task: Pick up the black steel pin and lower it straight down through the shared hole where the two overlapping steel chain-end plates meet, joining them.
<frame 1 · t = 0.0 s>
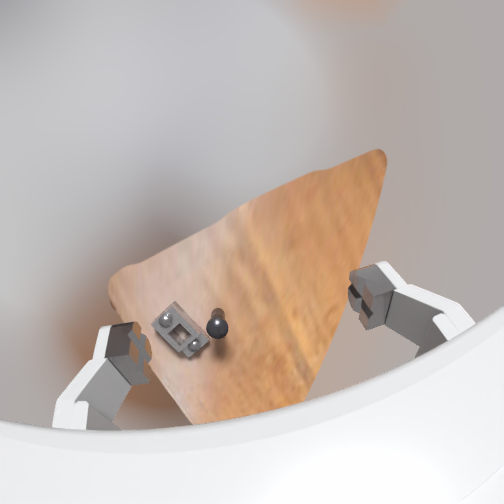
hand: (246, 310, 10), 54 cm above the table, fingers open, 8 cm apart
pin: (218, 314, 65), on the table
chain ends: (182, 328, 64), on the table
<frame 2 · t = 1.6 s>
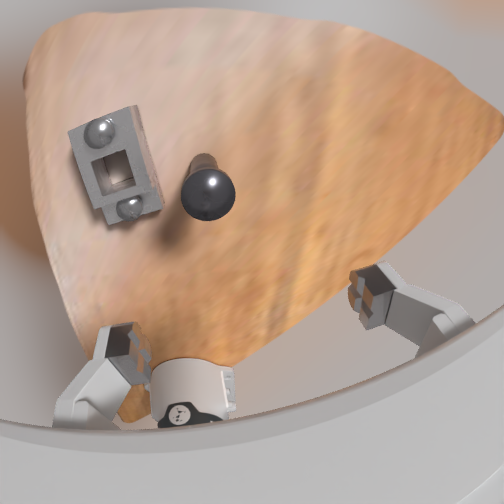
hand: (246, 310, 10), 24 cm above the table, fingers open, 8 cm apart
pin: (203, 166, 31), on the table
chain ends: (122, 164, 28), on the table
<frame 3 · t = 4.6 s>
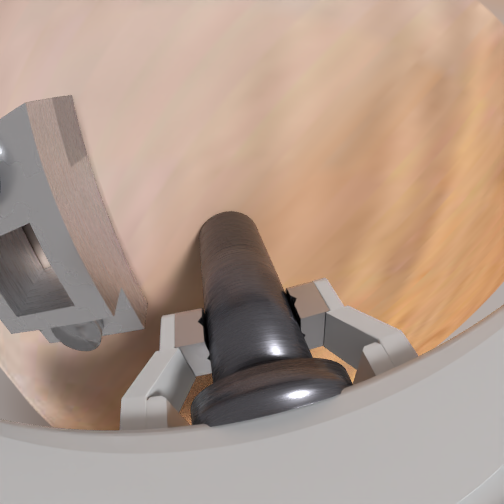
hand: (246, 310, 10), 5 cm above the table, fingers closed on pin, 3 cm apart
pin: (229, 238, 14), on the table, touching gripper
chain ends: (52, 230, 12), on the table
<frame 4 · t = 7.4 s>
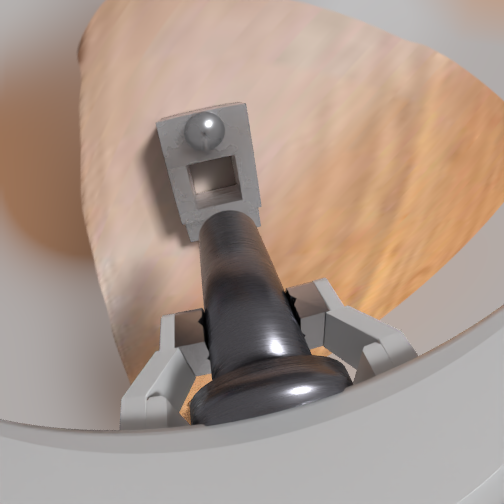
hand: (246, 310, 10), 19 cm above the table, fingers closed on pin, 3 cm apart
pin: (228, 237, 14), point 14 cm above the table, touching gripper
chain ends: (211, 170, 26), on the table
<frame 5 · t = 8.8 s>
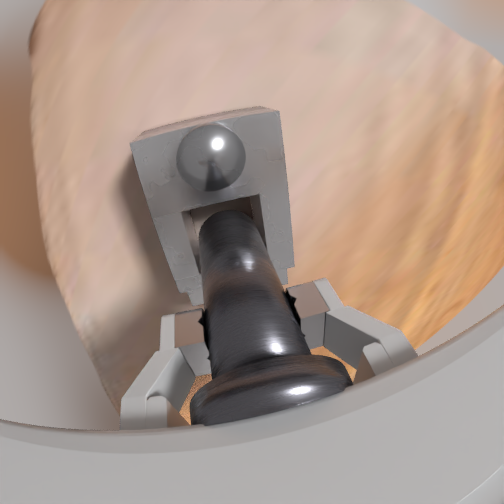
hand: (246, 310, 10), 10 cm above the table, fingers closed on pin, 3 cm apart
pin: (228, 237, 14), point 5 cm above the table, touching gripper
chain ends: (220, 206, 18), on the table
when the fingers open (7 cm above the table, at t = 10.1 s): pin drops 1 cm, resting in chain ends.
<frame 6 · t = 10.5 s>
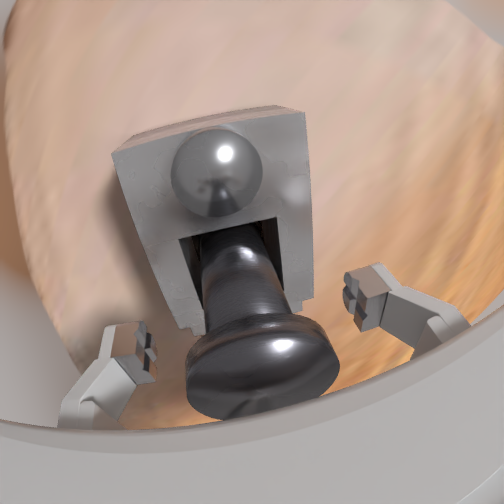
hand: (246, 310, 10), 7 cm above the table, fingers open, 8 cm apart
pin: (226, 224, 15), resting in chain ends
chain ends: (225, 225, 15), on the table
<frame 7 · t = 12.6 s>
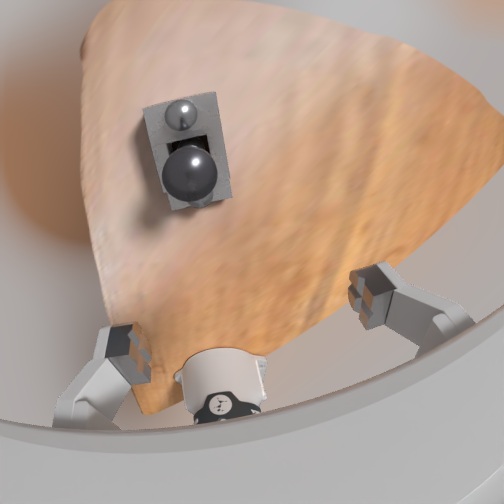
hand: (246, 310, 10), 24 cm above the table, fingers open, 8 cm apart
pin: (191, 149, 29), resting in chain ends
chain ends: (190, 149, 29), on the table
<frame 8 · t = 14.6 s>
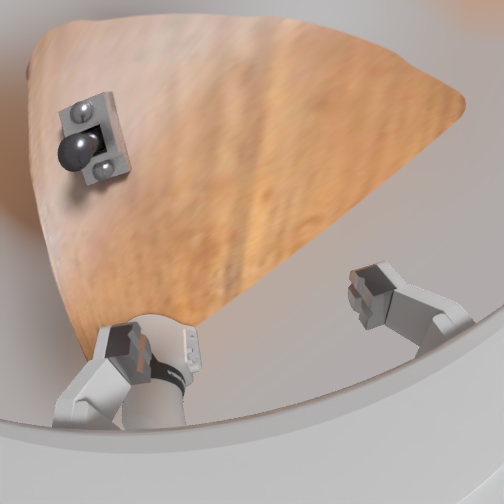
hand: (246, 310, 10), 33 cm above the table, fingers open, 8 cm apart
pin: (99, 137, 33), resting in chain ends
chain ends: (99, 137, 33), on the table
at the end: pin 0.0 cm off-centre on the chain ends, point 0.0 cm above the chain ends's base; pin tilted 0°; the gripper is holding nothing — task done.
